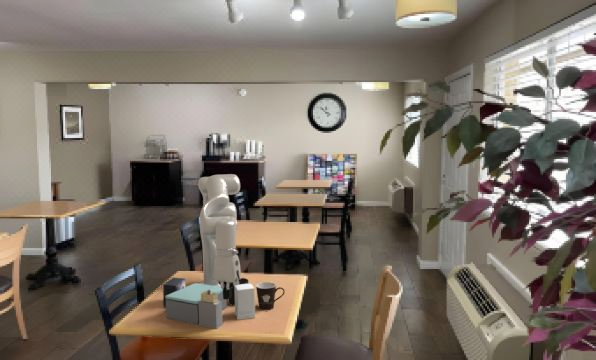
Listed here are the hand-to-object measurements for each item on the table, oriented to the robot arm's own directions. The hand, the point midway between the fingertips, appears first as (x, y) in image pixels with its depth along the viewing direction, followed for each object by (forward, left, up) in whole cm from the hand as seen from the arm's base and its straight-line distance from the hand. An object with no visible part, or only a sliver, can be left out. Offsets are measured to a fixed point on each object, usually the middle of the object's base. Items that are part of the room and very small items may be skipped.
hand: (227, 298), depth 192 cm
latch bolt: (0, -9, -2) cm, 9 cm away
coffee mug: (-26, +4, -13) cm, 29 cm away
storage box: (-8, -17, -12) cm, 22 cm away
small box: (-13, -37, -13) cm, 41 cm away
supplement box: (-14, -1, -13) cm, 19 cm away
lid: (-8, -21, -4) cm, 23 cm away
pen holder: (-26, -12, -13) cm, 32 cm away
